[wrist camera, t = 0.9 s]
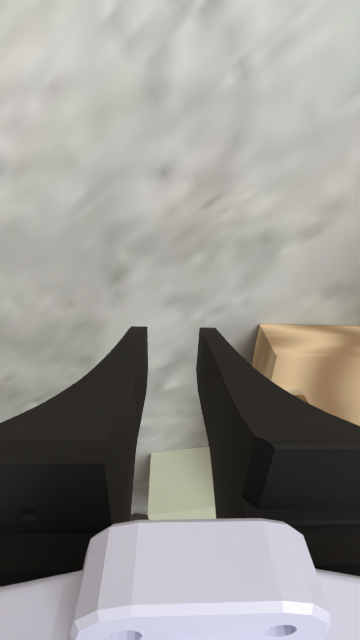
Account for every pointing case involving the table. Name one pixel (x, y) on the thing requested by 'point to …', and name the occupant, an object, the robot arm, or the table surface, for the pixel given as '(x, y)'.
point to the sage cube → (181, 485)
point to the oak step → (314, 364)
